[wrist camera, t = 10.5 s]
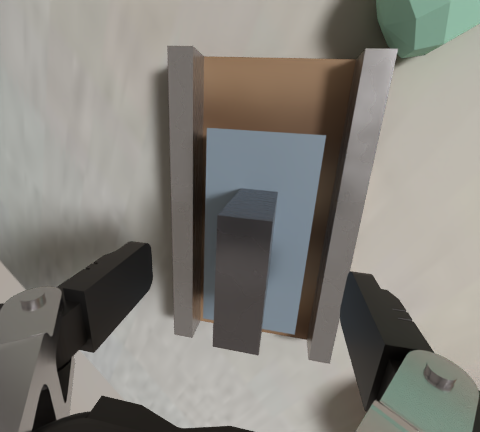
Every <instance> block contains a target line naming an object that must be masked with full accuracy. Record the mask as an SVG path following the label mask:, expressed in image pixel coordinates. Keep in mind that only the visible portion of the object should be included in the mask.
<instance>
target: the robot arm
mask: <svg viewBox="0 0 480 432" xmlns="http://www.w3.org/2000/svg"><path fill="white" fill-rule="evenodd" d="M152 280H153V272H152V254H151V247H150V245H149V244H148V243H140V242H133V241H130V242H128V243H127V244H125V245H124V246H123V247H121V248H120V249H118V250H117V251H115V252H112V253H110V254H107V255H104V256H103V257H101V258H100V259H98V260H97V261H95V262H94V264H91V265H89V266H88V267H86V269H83V270H82V271H80V272H79V273H77V274H76V275H74V276H73V277H71V278H70V279H68V280H67V281H65V282H64V283H62V284H61V285H59V286H58V287H52V286H44V287H37V288H32V289H29V290H26V291H23V292H21V293H19V294H17V295H15V296H13V297H11V298H10V299H9V300H8V301H6V302H5V303H4V304H0V432H254V431H249V430H245V429H241V428H237V427H232V426H221V427H202V428H178V427H176V426H175V425H173V424H171V423H170V422H168V421H166V420H165V419H163V418H162V417H160V416H158V415H157V414H155V413H154V412H152V411H150V410H149V409H147V408H145V407H144V406H142V405H139V404H135V403H131V402H126V401H122V400H118V399H114V398H109V397H105V396H101V398H100V399H99V400H98V402H97V403H96V405H95V406H94V408H93V409H92V410H91V412H83V413H78V414H74V415H70V406H71V396H72V386H73V376H74V366H75V359H74V354H75V353H76V352H77V351H78V350H83V351H88V352H93V353H94V352H95V351H96V350H97V349H98V348H99V347H100V345H101V344H102V343H103V342H104V341H105V340H106V339H107V337H108V336H109V335H110V334H111V333H112V332H113V331H114V329H115V328H116V327H117V326H118V325H119V324H120V323H121V321H122V320H123V319H124V318H125V317H126V316H127V315H128V314H129V312H130V311H131V310H132V309H133V308H134V307H135V306H136V304H137V303H138V302H139V301H140V300H141V299H142V298H143V296H144V295H145V294H146V293H147V292H148V291H149V289H150V287H151V284H152ZM340 322H341V326H342V330H343V333H344V337H345V341H346V344H347V348H348V352H349V355H350V359H351V362H352V366H353V370H354V373H355V377H356V381H357V384H358V388H359V391H360V395H361V399H362V402H363V406H364V410H365V411H368V412H367V413H366V415H365V417H364V418H363V420H362V422H361V423H360V425H359V427H358V428H357V430H356V431H355V432H480V391H479V390H478V388H477V386H476V384H475V382H474V381H473V380H472V378H471V377H470V376H469V375H468V374H467V373H466V372H465V371H464V370H463V369H461V368H460V367H459V366H458V365H456V364H455V363H453V362H452V361H450V360H448V359H447V358H445V357H442V356H440V355H438V354H435V353H434V352H433V350H432V349H431V347H430V346H429V344H428V343H427V341H426V340H425V338H424V337H423V335H422V333H421V332H420V330H419V329H418V327H417V326H416V324H415V323H414V322H412V318H411V317H410V315H409V314H408V313H407V312H406V309H405V308H404V306H403V305H402V303H401V302H400V300H399V299H398V298H396V297H395V296H394V295H393V294H391V293H390V292H389V291H388V290H384V289H381V288H380V287H379V285H378V283H377V282H376V280H375V278H374V277H373V275H372V274H366V273H358V272H351V271H350V272H349V273H348V276H347V280H346V284H345V289H344V293H343V298H342V302H341V308H340Z"/></svg>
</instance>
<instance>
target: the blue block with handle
mask: <svg viewBox="0 0 480 432" xmlns="http://www.w3.org/2000/svg"><path fill="white" fill-rule="evenodd" d="M325 139H326V135H312V134H296V133H280V132H265V131H249V130H233V129H218V128H207V148H206V197H205V246H204V296H203V318H204V319H209V320H214V324H213V347H218V348H223V349H229V350H234V351H239V352H244V353H249V354H254V355H259V348H260V340H261V333H262V329H265V330H271V331H277V332H282V333H288V334H294V335H295V329H296V323H297V316H298V310H299V304H300V297H301V291H302V285H303V279H304V272H305V266H306V260H307V253H308V247H309V241H310V234H311V228H312V222H313V215H314V209H315V203H316V196H317V190H318V184H319V177H320V171H321V165H322V158H323V152H324V146H325Z"/></svg>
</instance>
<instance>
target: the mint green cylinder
mask: <svg viewBox="0 0 480 432" xmlns="http://www.w3.org/2000/svg"><path fill="white" fill-rule="evenodd" d="M376 10H377V20H378V23H379V25H380V28H381V30H382V33H383V35H384V38H385V40H386V43H387V45H388V46H389V47H390V48H391V49H398V52H397V54H398V55H399V56H400V57H401V58H408V57H415V56H422V55H425V54H427V53H429V52H431V51H433V50H434V49H436V48H438V47H440V46H441V45H443V44H445V43H447V42H448V41H450V40H452V39H454V38H455V37H457V36H459V35H461V34H462V33H464V32H466V31H468V30H469V29H471V28H473V27H475V26H476V25H478V24H480V0H376Z"/></svg>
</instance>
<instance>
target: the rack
mask: <svg viewBox="0 0 480 432" xmlns="http://www.w3.org/2000/svg"><path fill="white" fill-rule="evenodd" d="M167 48H168V89H169V130H170V171H171V212H172V253H173V295H174V334H175V335H181V336H186V337H191V338H192V337H193V335H194V333H195V331H196V329H197V327H198V325H199V323H200V321H206V322H211V323H214V320H209V319H204V318H203V296H204V246H205V197H206V148H207V128H218V129H233V130H249V131H265V132H280V133H296V134H312V135H326V139H325V146H324V152H323V158H322V165H321V171H320V177H319V184H318V190H317V196H316V203H315V209H314V215H313V222H312V228H311V234H310V241H309V247H308V253H307V260H306V266H305V272H304V279H303V285H302V291H301V297H300V304H299V310H298V316H297V323H296V329H295V335H294V334H288V333H282V332H277V331H271V330H265V329H262V332H267V333H273V334H279V335H284V336H290V337H295V338H301V339H307V347H308V358H309V360H313V361H318V362H323V363H329V364H330V360H331V355H332V350H333V346H334V341H335V337H336V332H337V327H338V323H339V318H340V308H341V302H342V298H343V293H344V289H345V284H346V280H347V276H348V273H349V272H350V268H351V263H352V259H353V254H354V249H355V245H356V240H357V236H358V231H359V226H360V222H361V217H362V213H363V208H364V203H365V199H366V194H367V190H368V185H369V180H370V176H371V171H372V167H373V162H374V157H375V153H376V148H377V144H378V139H379V134H380V130H381V125H382V121H383V116H384V111H385V107H386V102H387V98H388V93H389V88H390V84H391V79H392V75H393V70H394V65H395V61H396V56H397V52H398V49H374V48H366V49H365V50H364V51H363V52H362V53H361V54H360V55H359V56H358V58H357V59H305V58H252V57H204V56H203V55H202V54H201V53H200V52H199V51H198V50H197V49H196V48H194V47H193V46H167Z"/></svg>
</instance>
